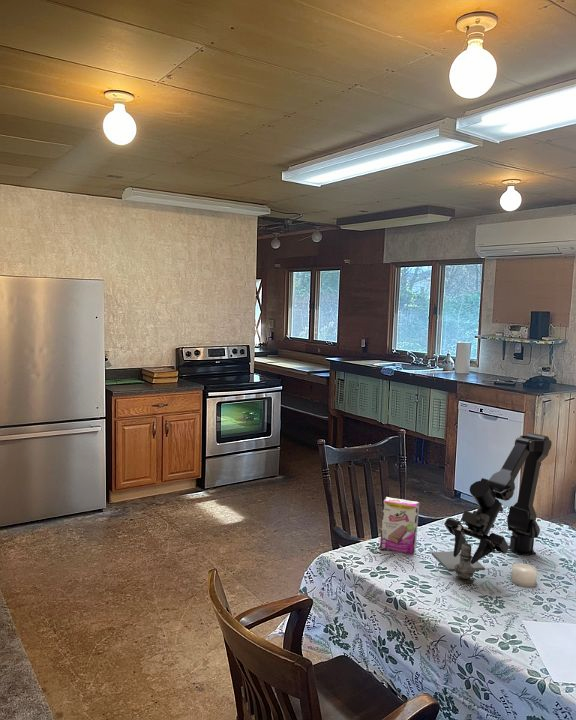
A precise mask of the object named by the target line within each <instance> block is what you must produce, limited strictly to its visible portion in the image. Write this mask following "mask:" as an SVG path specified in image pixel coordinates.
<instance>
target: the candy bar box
mask: <svg viewBox="0 0 576 720" xmlns="http://www.w3.org/2000/svg"><path fill="white" fill-rule="evenodd" d="M382 504H383V506H382V518H381V529H380V530H381V533H380V541H379V542H380V543H379V548H380V550H387V551H391V552H395V553H396V552H397V553H401V554H402V553H403V554H407V555H411V556H414V555H415V551H416V548H417V538H418V537H417V536H418V525H419V511H420V502H418V501H415V500H414V501H413V500H408V499H403V498H395V497H389V496H385V498H384V500H383V502H382Z"/></svg>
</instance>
